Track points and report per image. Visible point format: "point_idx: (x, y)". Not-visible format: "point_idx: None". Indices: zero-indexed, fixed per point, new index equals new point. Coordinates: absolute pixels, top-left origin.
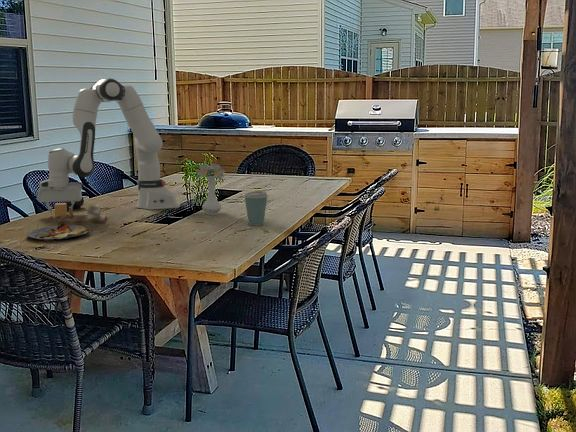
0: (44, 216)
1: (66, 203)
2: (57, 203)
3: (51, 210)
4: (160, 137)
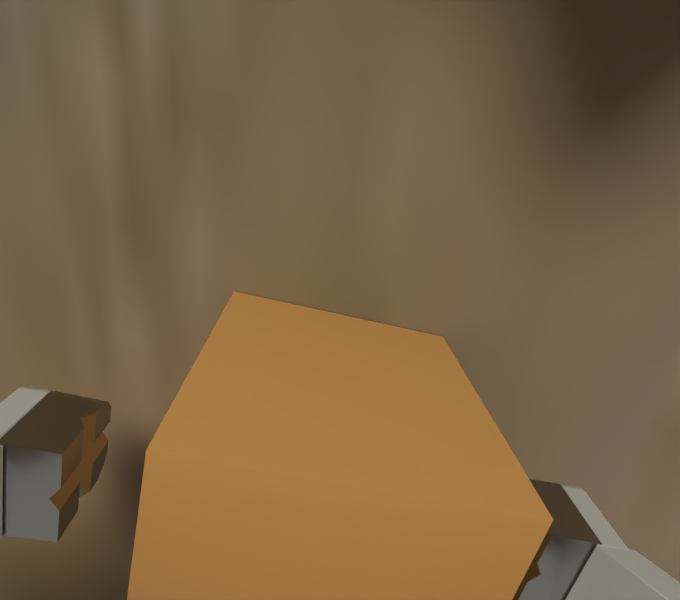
0: (3, 393)
1: (538, 542)
2: (214, 465)
3: (92, 482)
4: None
